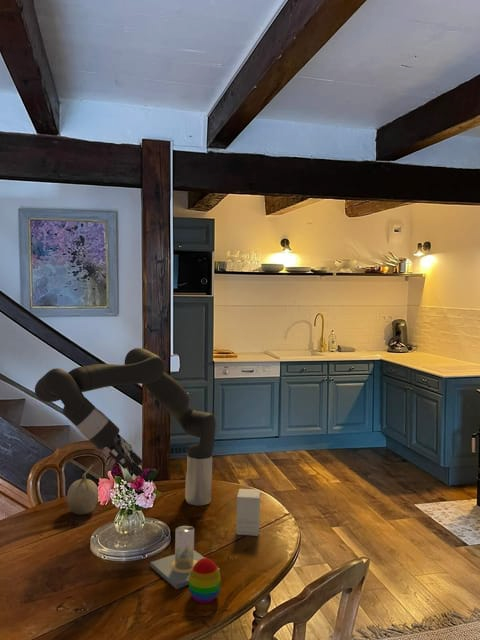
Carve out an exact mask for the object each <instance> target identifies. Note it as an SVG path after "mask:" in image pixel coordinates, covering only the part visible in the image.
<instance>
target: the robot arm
mask: <svg viewBox="0 0 480 640" xmlns="http://www.w3.org/2000/svg"><path fill="white" fill-rule="evenodd" d="M140 384H142V385H143V386H144V388H146V389H147V391H149V393H150V394H151V395H152V396H153V398H154V399H155V400H156V401H157V402H158V403H159V404H160V405H161V407H162V408H164V409H165V410H166V411H167V412H168V413H169V414H170V415H171V416H172V418H174V419H175V420H176V421H177V423H178V424H179V426H180V427H181V429H182V430H183V431H184V433H186V434H187V435H188V436H192V437H195V438H199V442H198V443H195V444H191V445H189V446H188V448H187V452H186V453H187V457H186V458H187V459H186V460H187V461H186V462H187V463H186V473H185V487H184V488H185V491H184V498H185V501H186V503H187V504H189V505H192V506H205V505H206V506H207V505H208V504H210V503H211V502H212V485H213V484H212V483H213V482H212V481H213V480H212V478H213V455H214V454H213V452H214V449H215V448H214V447H215V438H216V429H217V428H216V426H217V425H216V424H217V423H216V422H217V421H216V417H215V415H214V414H213V413H211V412H206V411H199V410H195V409H193V408H191V407H190V406H189V404H190V396H189V393H188V392H187V391H186V389H185V388H184V387H183V386H182V385H181V383H179V382H178V381H177V380H176V379H174V378H173V377H171V375H169V374H168V373H166V372H165V362H164V360H163V359H162V358H161V357H160V356H159V355H158V354H155V353H153V352H151V351H149V350H148V349H145V348H143V347H141V348H140V347H135V348H133V349H130V350H129V351H128V352H127V353H126V356H125V358H124V364H113V363H110V364H109V363H97V364H96V363H93V364H90V365H84V366H79V367H76V368H73V369H71V370H70V371H68V372H67V371H66V370H64V369H61V368H52V369H50V370H48V372H46V373H45V374H44V375H43V376H42V377H41V378H40V379H39V380H38V381H37V382H36V384H35V386H34V393H35V396H36V398H37V399H39V400H40V401H42V402H45V403H53V402H58V401H61V403H62V404H63V408H62V414H63V415H64V416H65V418H66V419H68V421H69V422H71V423H72V425H74V426H75V427H76V428H77V430H78V431H79V432H80V433H81V434H82V435H83V436H84V437H85V438H86V439H87V440H88V441H89V442H90V443H92V444H93V445H94V447H95V448H97V450H100V451H101V450H104V449H105V448H108V449H109V452H108V454H109V456H110V457H112V459H113V460H114V461H116V463H117V464H118V465H120V467H121V468H122V469H124V470H126V469H128V470H129V471H130V473H132V474H133V475H134V476H135V477H139V476H140V475H142V473H143V469H142V468H141V467H140V464H142V463H143V459H142V458H141V457H140V456H139V455H138V454H137V453H136V452H135V451H134V449H133V448H132V447H133V446H132V445H131V444H130V443H128V442H127V440H125V439H124V438H123V437H122V436H121V435H120V434H119V433H120V428H119V427H118V426H117V425H116V424H115V423H114V422H113V421H112V420H111V419H110V418H109V417H108V416H107V415H106V414H105V413H104V412H103V411H102V410H100V409H99V408H97V407H96V406H95V405H94V404H93V403H92V402H91V401H90V400H89V399H88V398H87V397H86V396H85V395H84V394H83V393H85V392H90V391H95V390H98V389H104V388H109V387H115V386H124V385H126V386H127V385H140ZM125 460H126V461H125Z"/></svg>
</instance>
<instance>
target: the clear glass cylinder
mask: <svg viewBox="0 0 480 640" xmlns="http://www.w3.org/2000/svg"><path fill="white" fill-rule="evenodd" d="M174 535H175V536H174V537H175V540H174V541H175V542H174V543H175V544H174V554H175V567H176V568H178V569H182V570H186V569H190V568H192V567H193V565H194V550H195V528H194V527H193V525H192V526H191V525H181V526H178V527H175V534H174Z"/></svg>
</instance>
